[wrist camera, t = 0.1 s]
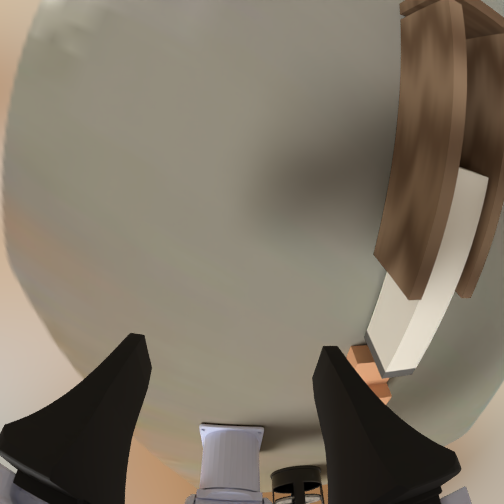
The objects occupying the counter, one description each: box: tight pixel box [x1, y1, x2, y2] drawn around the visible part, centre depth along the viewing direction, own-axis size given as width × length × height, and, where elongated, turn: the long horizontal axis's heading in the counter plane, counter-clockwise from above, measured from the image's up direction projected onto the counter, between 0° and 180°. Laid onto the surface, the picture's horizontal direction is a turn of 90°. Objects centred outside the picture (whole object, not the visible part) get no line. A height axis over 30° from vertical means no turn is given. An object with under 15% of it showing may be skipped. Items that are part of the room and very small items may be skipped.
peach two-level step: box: [346, 345, 392, 405], centre depth 24 cm, size 8×4×4 cm, turn 176°
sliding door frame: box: [374, 0, 504, 300], centre depth 13 cm, size 20×6×6 cm, turn 176°
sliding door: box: [364, 167, 489, 379], centre depth 18 cm, size 16×3×5 cm, turn 176°
